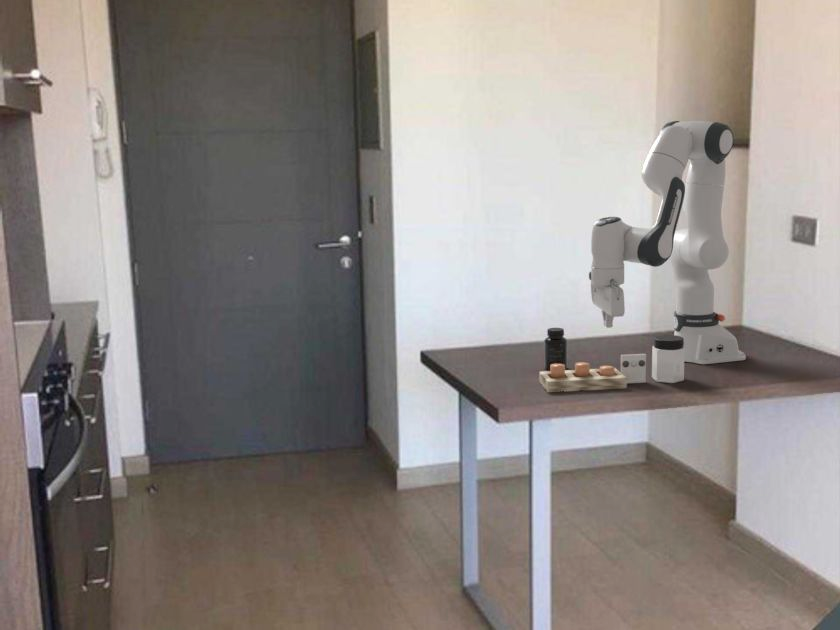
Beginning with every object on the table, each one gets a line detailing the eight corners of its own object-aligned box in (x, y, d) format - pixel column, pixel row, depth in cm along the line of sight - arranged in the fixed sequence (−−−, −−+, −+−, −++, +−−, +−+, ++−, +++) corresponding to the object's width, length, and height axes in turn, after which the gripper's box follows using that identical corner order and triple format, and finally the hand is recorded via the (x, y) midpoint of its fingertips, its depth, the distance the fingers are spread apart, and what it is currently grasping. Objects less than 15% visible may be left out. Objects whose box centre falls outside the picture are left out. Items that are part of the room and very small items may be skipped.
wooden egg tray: (615, 378, 282) (615, 367, 282) (626, 388, 271) (626, 377, 271) (539, 381, 280) (539, 371, 280) (547, 392, 270) (547, 381, 269)
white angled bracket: (642, 379, 280) (643, 352, 278) (646, 382, 277) (646, 354, 275) (618, 380, 279) (618, 353, 277) (621, 383, 276) (621, 355, 275)
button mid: (587, 372, 277) (587, 362, 277) (591, 376, 273) (591, 365, 273) (573, 373, 277) (573, 362, 276) (577, 376, 273) (577, 366, 273)
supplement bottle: (543, 365, 298) (543, 326, 296) (566, 365, 298) (566, 326, 296) (545, 371, 291) (545, 331, 289) (568, 371, 291) (568, 331, 289)
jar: (668, 384, 274) (669, 342, 271) (645, 379, 280) (646, 337, 278) (689, 379, 279) (691, 337, 276) (667, 373, 285) (668, 333, 283)
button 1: (562, 373, 277) (563, 363, 276) (566, 377, 273) (566, 366, 272) (548, 374, 276) (548, 363, 276) (552, 378, 273) (552, 367, 272)
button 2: (611, 375, 278) (612, 365, 278) (615, 379, 274) (616, 368, 274) (597, 376, 278) (598, 366, 277) (601, 380, 274) (601, 369, 273)
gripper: (630, 282, 261) (630, 333, 263) (608, 270, 281) (609, 318, 283) (607, 283, 260) (607, 335, 263) (587, 272, 280) (587, 319, 283)
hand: (608, 326), depth 273 cm, fingers closed
